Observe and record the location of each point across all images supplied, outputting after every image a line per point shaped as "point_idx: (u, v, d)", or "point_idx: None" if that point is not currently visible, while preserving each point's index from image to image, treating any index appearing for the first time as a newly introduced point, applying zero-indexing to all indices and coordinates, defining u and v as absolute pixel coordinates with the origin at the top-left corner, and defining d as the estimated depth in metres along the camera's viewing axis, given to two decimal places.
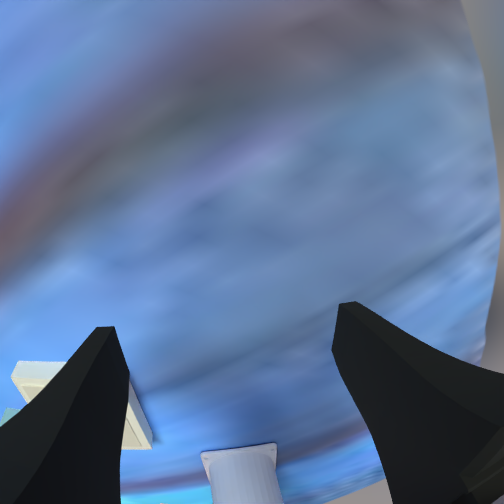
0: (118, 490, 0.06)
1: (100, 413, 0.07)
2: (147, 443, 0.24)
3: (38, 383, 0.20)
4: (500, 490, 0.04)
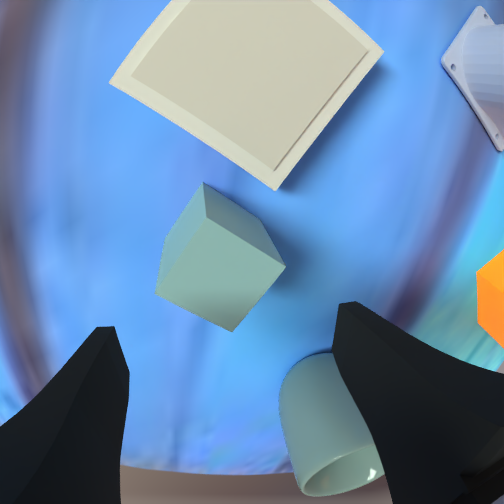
0: (118, 491, 0.06)
1: (100, 413, 0.07)
2: (369, 40, 0.14)
3: (151, 41, 0.12)
4: (500, 490, 0.04)
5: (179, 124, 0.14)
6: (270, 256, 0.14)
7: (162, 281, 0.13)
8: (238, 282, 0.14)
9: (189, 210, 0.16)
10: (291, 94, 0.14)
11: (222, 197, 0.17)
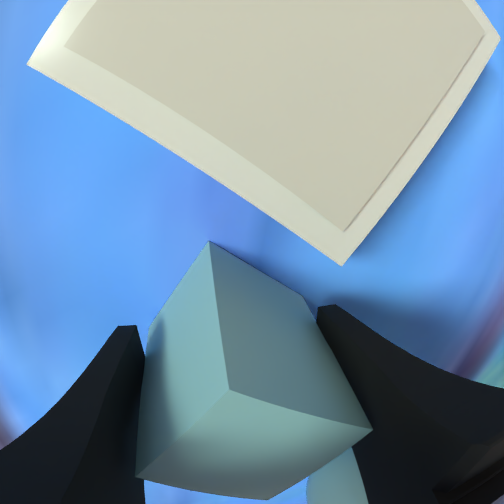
0: (143, 491, 0.07)
1: (126, 413, 0.07)
2: (483, 16, 0.06)
3: None
4: None
5: (160, 140, 0.07)
6: (350, 422, 0.06)
7: (146, 465, 0.06)
8: (286, 461, 0.06)
9: (186, 302, 0.09)
10: (379, 88, 0.07)
11: (244, 270, 0.10)
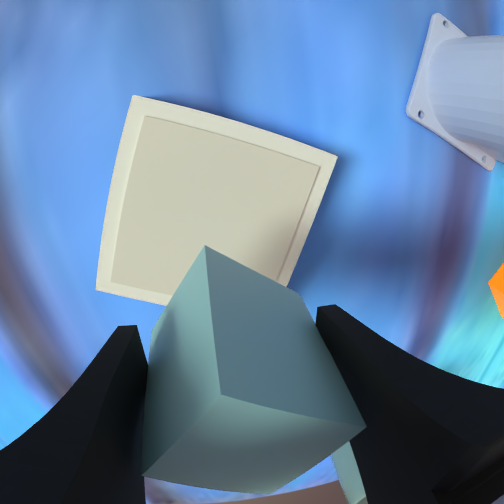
0: (143, 491, 0.07)
1: (126, 413, 0.07)
2: (318, 152, 0.15)
3: (111, 246, 0.15)
4: None
5: None
6: (343, 420, 0.06)
7: (150, 464, 0.06)
8: (283, 457, 0.07)
9: (185, 306, 0.09)
10: (256, 247, 0.16)
11: (240, 273, 0.10)
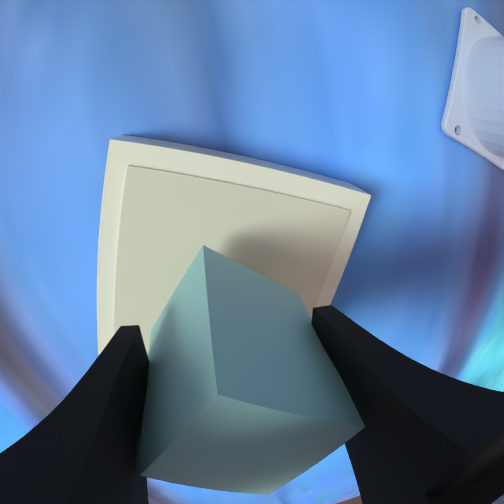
0: (146, 492, 0.07)
1: (129, 413, 0.07)
2: (348, 192, 0.12)
3: (109, 318, 0.13)
4: None
5: None
6: (341, 420, 0.06)
7: (148, 464, 0.06)
8: (281, 457, 0.07)
9: (183, 306, 0.09)
10: None
11: (239, 272, 0.10)
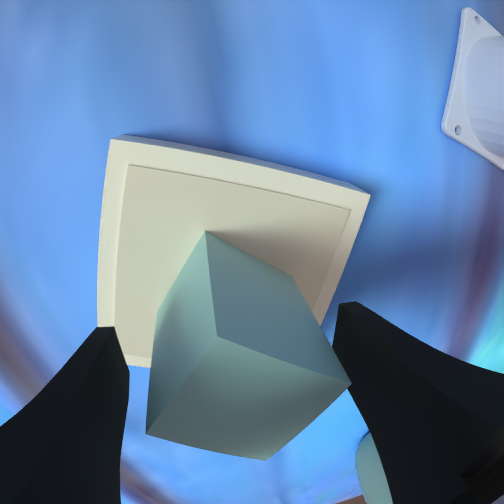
0: (118, 491, 0.06)
1: (100, 413, 0.07)
2: (348, 192, 0.12)
3: (109, 316, 0.13)
4: (500, 490, 0.04)
5: None
6: (328, 374, 0.08)
7: (154, 420, 0.07)
8: (276, 413, 0.08)
9: (187, 282, 0.10)
10: None
11: (237, 254, 0.12)
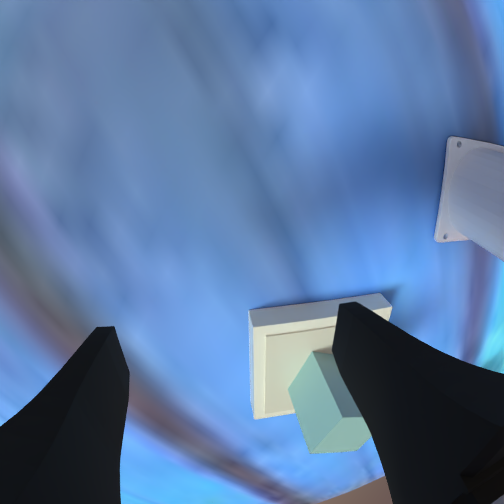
0: (118, 490, 0.06)
1: (100, 413, 0.07)
2: (379, 310, 0.21)
3: (261, 398, 0.23)
4: (500, 490, 0.04)
5: None
6: None
7: (314, 447, 0.17)
8: (361, 432, 0.18)
9: (311, 382, 0.20)
10: None
11: (330, 360, 0.21)
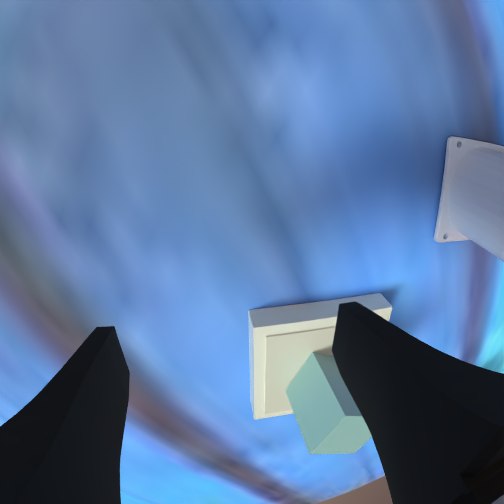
0: (118, 490, 0.06)
1: (100, 413, 0.07)
2: (380, 310, 0.21)
3: (261, 398, 0.23)
4: (500, 490, 0.04)
5: None
6: None
7: (314, 447, 0.17)
8: (361, 433, 0.17)
9: (311, 382, 0.20)
10: None
11: (330, 361, 0.21)
